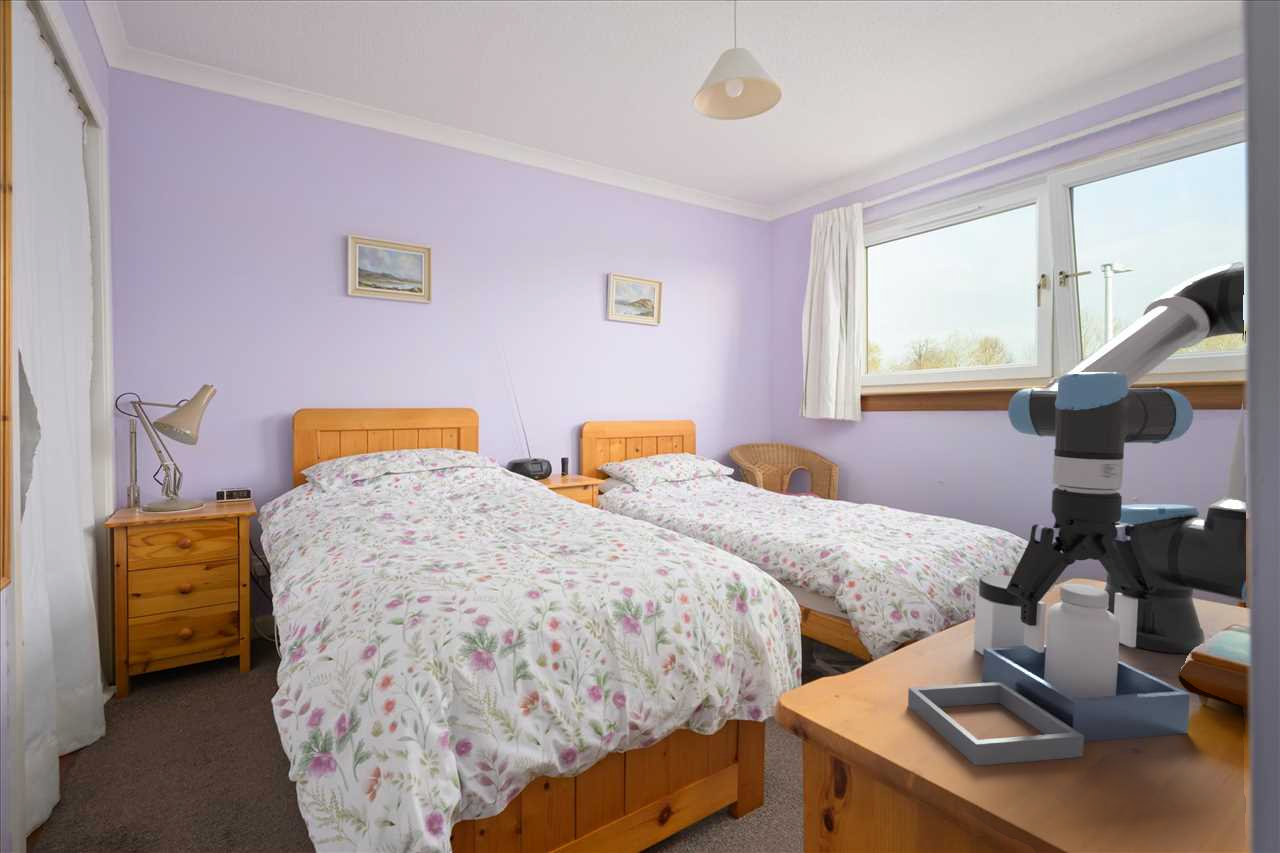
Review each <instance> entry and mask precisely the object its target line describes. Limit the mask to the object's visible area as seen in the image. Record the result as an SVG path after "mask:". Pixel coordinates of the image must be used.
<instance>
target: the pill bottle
mask: <svg viewBox="0 0 1280 853" xmlns="http://www.w3.org/2000/svg"><path fill="white" fill-rule="evenodd" d="M1059 596H1060V599H1059V600H1060V602H1057V603H1054V604H1053V605H1051V606H1050V607H1049V609H1048V612H1047V619H1046V620H1047V622H1046V623H1047V624H1046V636H1045V640H1046V642H1045V645H1046V654H1045V672H1044V681H1046V682H1047V683H1049V684H1051V685H1052V686H1054V687H1056V688H1058V689H1059V690H1061V691H1063V692H1064V693H1066V694H1068V695H1069V696H1071V697H1073V698H1074V699H1076V698H1091V697H1105V696H1116V683H1117V668H1118V660H1119V651H1120V648H1119V647H1120V642H1119V636H1120V624H1119V621H1118V619H1117V618H1116V616H1114V615H1113V614H1112V613H1111V612H1109V611H1107V609H1108V608H1109V606H1108V604H1109V594H1108V592H1106V591H1105V589H1103V588H1100V587H1097V586H1093V585H1089V584H1084V583H1083V584H1082V583H1063V584H1061V586H1060V588H1059Z"/></svg>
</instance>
